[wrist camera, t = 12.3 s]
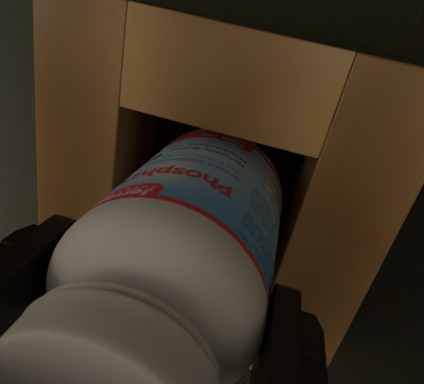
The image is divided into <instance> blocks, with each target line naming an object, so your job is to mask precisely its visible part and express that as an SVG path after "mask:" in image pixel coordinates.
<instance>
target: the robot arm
mask: <svg viewBox="0 0 424 384" xmlns="http://www.w3.org/2000/svg"><path fill="white" fill-rule="evenodd" d="M76 221H77V220H75V219H72V218H69V217H65V216H62V215H59V214H54V215H52V216H51V217H49V218H48V219H47V220H45V221H44V222H42V223H41V224H40V225H35V224H33V225H30V226H28V227H25V228H22V229H19V230H16V231H15V232H13V233H12V234H10V235H9V236H7V237H6V238H4V239H3V240H1V243H0V337H1V336H2V335H3V334H4V333H5V332H6V331H7V330H8V329H9V328H10V327H11V326H12V325H13V324H14V323H15V322H16V321H17V320H18V319H19V318H20V317H21V315H22V314H23V312H24V311H25V310H26V308H27V307H28V306H29V305H30V304H31V303H33V302H34V301H35V300H37V299H38V298H40V297H42V296H43V295H45V294H46V276H47V270H48V266H49V262H50V259H51V257H52V254H53V252H54V249H55V247H56V246H57V244H58V242H59V241H60V239H61V238H62V237H63V235H64V234H65V232H66V231H67V230H68V229H69V228H70V227H71V226H72V225H73V224H74V223H75V222H76ZM250 384H328V375H327V366H326V352H325V338H324V331H323V329H322V327H321V325H320V323H319V321H318V319H317V317H316V315H314V314H311V313H308V312H305V311H302V310H301V291H300V290H296V289H293V288H290V287H287V286H284V285H280V284H277V283H275V285H274V287H273V289H272V292H271V295H270V301H269V310H268V317H267V322H266V327H265V333H264V337H263V340H262V344H261V346H260V349H259V351H258V354H257V356H256V357H255V359H254V361H253V364H252V370H251V377H250Z"/></svg>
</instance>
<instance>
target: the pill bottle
mask: <svg viewBox="0 0 424 384" xmlns="http://www.w3.org/2000/svg"><path fill="white" fill-rule="evenodd" d="M281 210H282V188H281V184H280V180H279V177H278V174H277V172H276V170H275V168H274V166H273V164H272V163H271V161H270V160H269V158H268V157H267V155H266V154H265V153H264V152H263V150H262V149H261V148H260V147H258V146H257V145H256V144H255V143H254V142H252V141H248V140H245V139H241V138H237V137H233V136H230V135H226V134H222V133H218V132H214V131H211V130H207V129H198V130H194V131H191V132H188V133H186V134H184V135H182V136H180V137H178V138H177V139H175V140H174V141H172V142H171V143H170V144H169V145H167V146H166V147H165V148H164V149H162V150H161V151H160V152H159V153H158V154H156V155H155V156H154V157H153V158H151V159H150V160H149V161H148V162H147V163H145V164H144V165H143V166H142V167H141V168H139V169H138V170H137V171H136V172H134V173H133V174H132V175H131V176H130V177H128V178H127V179H126V180H125V181H124V182H122V183H121V184H120V185H119V186H117V187H116V188H115V189H114V190H113V191H112V192H110V193H109V194H108V195H107V196H106V197H104V198H103V199H102V200H101V201H99V202H98V203H97V204H96V205H95V206H93V207H92V208H91V209H90V210H89V211H87V212H86V213H85V214H84V215H83V216H82V217H81V218H80V219H78V220H77V221H76V222H75V223H74V224H73V225H72V226H71V227H70V228H69V229H68V230H67V231H66V232H65V234H64V235H63V237H62V238H61V239H60V241H59V242H58V244H57V246H56V247H55V249H54V252H53V254H52V257H51V259H50V262H49V266H48V270H47V276H46V294H45V295H43V296H42V297H40V298H38V299H37V300H35V301H34V302H33V303H31V304H30V305H29V306H28V307H27V308H26V310H25V311H24V312H23V314H22V315H21V317H20V318H19V319H18V320H17V321H16V322H15V323H14V324H13V325H12V326H11V327H10V328H9V329H8V330H7V331H6V332H5V333H4V334H3V335H2V336H1V337H0V384H233V383H235V382H236V381H237V380H238V379H239V378H241V376H242V375H243V374H244V373H245V372H246V371H247V370H248V368H249V367H250V366H251V364H252V363H253V361H254V359H255V357H256V356H257V354H258V351H259V349H260V346H261V344H262V340H263V337H264V333H265V327H266V322H267V317H268V310H269V301H270V294H271V286H272V278H273V270H274V262H275V255H276V247H277V240H278V232H279V225H280V217H281Z"/></svg>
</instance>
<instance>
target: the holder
mask: <svg viewBox="0 0 424 384" xmlns="http://www.w3.org/2000/svg"><path fill="white" fill-rule="evenodd" d="M33 33H34V71H35V109H36V147H37V186H38V224H39V225H40V224H41V223H42V222H44V221H45V220H47V219H48V218H49V217H51V216H52V215H54V214H59V215H62V216H65V217H69V218H72V219H75V220H78V219H80V218H81V217H82V216H83V215H84V214H85V213H86V212H87V211H89V210H90V209H91V208H92V207H93V206H95V205H96V204H97V203H98V202H99V201H101V200H102V199H103V198H104V197H106V196H107V195H108V194H109V193H110V192H112V191H113V190H114V189H115V188H116V187H117V186H119V185H120V184H121V183H122V182H124V181H125V180H126V179H127V178H128V177H130V176H131V175H132V174H133V173H134V172H136V171H137V170H138V169H139V168H141V167H142V166H143V165H144V164H145V163H147V162H148V161H149V160H150V159H151V158H153V156H154V148H155V141H156V133H157V126H158V118H159V117H162V118H165V119H169V120H173V121H177V122H180V123H184V124H188V125H192V126H196V127H199V128H203V129H207V130H211V131H214V132H218V133H222V134H226V135H230V136H233V137H237V138H241V139H245V140H248V141H252V142H256V143H260V144H264V145H267V146H271V147H275V148H279V149H282V150H286V151H290V152H294V153H297V154H301V155H305V156H304V158H303V161H302V164H301V167H300V170H299V173H298V176H297V179H296V182H295V185H294V188H293V191H292V194H291V197H290V200H289V203H288V206H287V209H286V211H285V214H284V217H283V220H282V223H281V226H280V229H279V232H278V240H277V247H276V255H275V262H274V270H273V278H272V286H271V292H272V289H273V287H274V285H275V283H277V284H280V285H284V286H287V287H290V288H293V289H296V290H300V291H301V310H302V311H305V312H308V313H311V314H314V315H316V317H317V319H318V321H319V323H320V325H321V327H322V329H323V331H324V338H325V352H326V366H327V368H328V366H329V364H330V362H331V360H332V358H333V356H334V355H335V353H336V351H337V349H338V347H339V345H340V343H341V341H342V339H343V337H344V335H345V334H346V332H347V330H348V328H349V326H350V324H351V322H352V320H353V318H354V316H355V314H356V312H357V311H358V309H359V307H360V305H361V303H362V301H363V299H364V297H365V295H366V293H367V291H368V290H369V288H370V286H371V284H372V282H373V280H374V278H375V276H376V274H377V272H378V270H379V268H380V267H381V265H382V263H383V261H384V259H385V257H386V255H387V253H388V251H389V249H390V247H391V246H392V244H393V242H394V240H395V238H396V236H397V234H398V232H399V230H400V228H401V226H402V224H403V223H404V221H405V219H406V217H407V215H408V213H409V211H410V209H411V207H412V205H413V203H414V202H415V200H416V198H417V196H418V194H419V192H420V190H421V188H422V186H423V184H424V66H419V65H415V64H410V63H406V62H402V61H397V60H393V59H388V58H384V57H379V56H375V55H370V54H366V53H362V52H357V51H353V50H348V49H344V48H339V47H335V46H330V45H326V44H322V43H317V42H313V41H308V40H304V39H299V38H295V37H290V36H286V35H282V34H277V33H273V32H268V31H264V30H259V29H255V28H251V27H246V26H242V25H237V24H233V23H228V22H224V21H219V20H215V19H211V18H206V17H202V16H197V15H193V14H188V13H184V12H179V11H175V10H170V9H166V8H162V7H157V6H153V5H148V4H144V3H139V2H135V1H131V0H33ZM270 295H271V294H270ZM252 364H253V363H252ZM252 364H251V366H250V367H249V368H248V369H250V370H252Z"/></svg>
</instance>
